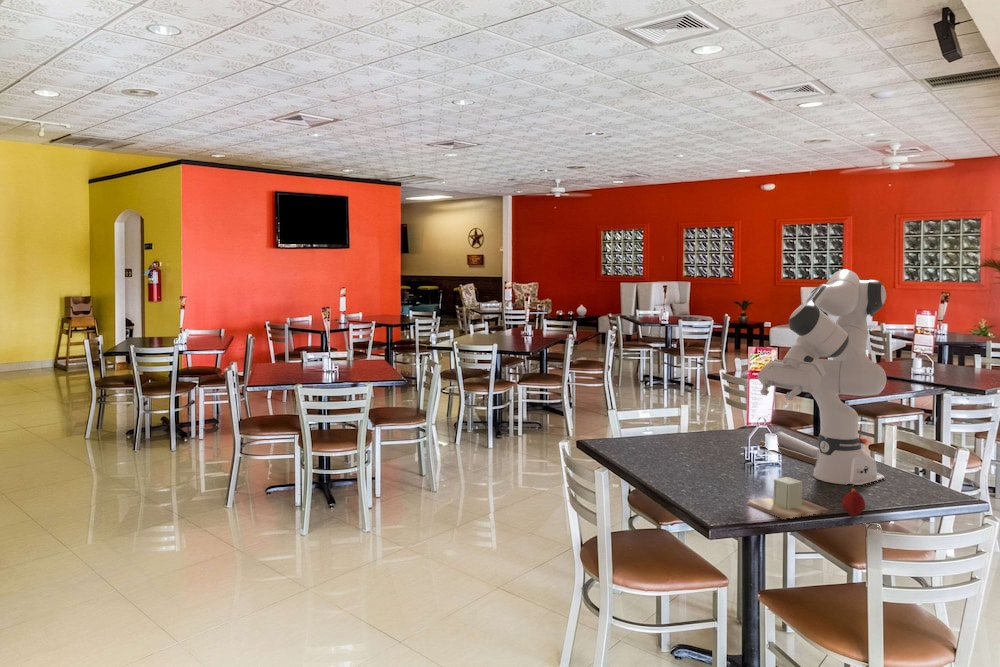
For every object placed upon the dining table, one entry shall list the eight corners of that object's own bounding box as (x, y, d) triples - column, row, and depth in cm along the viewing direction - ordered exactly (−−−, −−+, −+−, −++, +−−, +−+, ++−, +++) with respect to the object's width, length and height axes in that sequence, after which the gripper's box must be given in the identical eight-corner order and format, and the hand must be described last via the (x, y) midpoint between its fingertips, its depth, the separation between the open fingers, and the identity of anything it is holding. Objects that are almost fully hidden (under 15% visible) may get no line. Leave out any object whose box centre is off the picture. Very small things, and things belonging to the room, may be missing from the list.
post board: (791, 498, 222) (792, 478, 222) (827, 512, 209) (828, 491, 209) (748, 504, 217) (749, 484, 216) (782, 519, 204) (783, 498, 203)
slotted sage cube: (786, 501, 217) (787, 476, 216) (801, 506, 212) (802, 481, 211) (773, 503, 214) (774, 479, 213) (788, 509, 209) (789, 484, 209)
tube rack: (782, 443, 290) (782, 438, 290) (838, 461, 264) (839, 456, 264) (759, 446, 286) (760, 441, 286) (815, 464, 260) (815, 458, 260)
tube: (827, 450, 263) (787, 432, 288) (814, 447, 262) (775, 429, 287) (823, 464, 264) (783, 445, 288) (810, 461, 263) (771, 443, 287)
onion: (857, 513, 209) (859, 485, 209) (868, 520, 204) (870, 491, 203) (837, 513, 209) (838, 485, 208) (847, 520, 203) (849, 491, 203)
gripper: (767, 352, 240) (744, 384, 236) (821, 359, 222) (797, 394, 218) (776, 365, 242) (753, 397, 238) (830, 373, 224) (807, 408, 221)
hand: (775, 396), depth 228 cm, fingers open, 8 cm apart
